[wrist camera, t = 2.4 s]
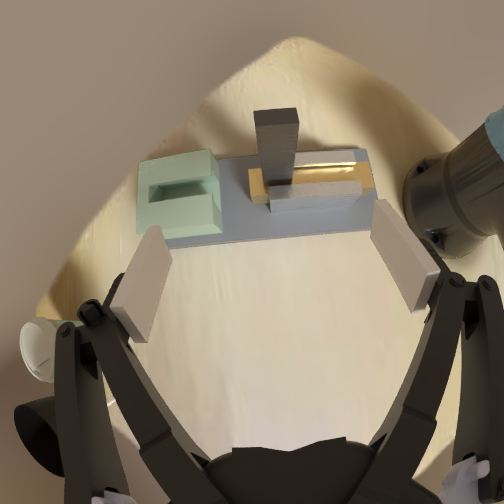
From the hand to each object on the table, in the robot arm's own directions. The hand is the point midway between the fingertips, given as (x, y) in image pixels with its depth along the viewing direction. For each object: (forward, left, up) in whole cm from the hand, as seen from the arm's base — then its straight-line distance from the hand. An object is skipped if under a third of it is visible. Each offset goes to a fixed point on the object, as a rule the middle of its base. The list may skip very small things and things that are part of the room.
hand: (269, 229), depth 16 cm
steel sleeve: (-5, -8, -16) cm, 19 cm away
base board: (+1, -8, -18) cm, 19 cm away
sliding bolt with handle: (-5, -8, -15) cm, 18 cm away
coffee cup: (+29, +10, -18) cm, 35 cm away
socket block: (+10, -8, -16) cm, 21 cm away
